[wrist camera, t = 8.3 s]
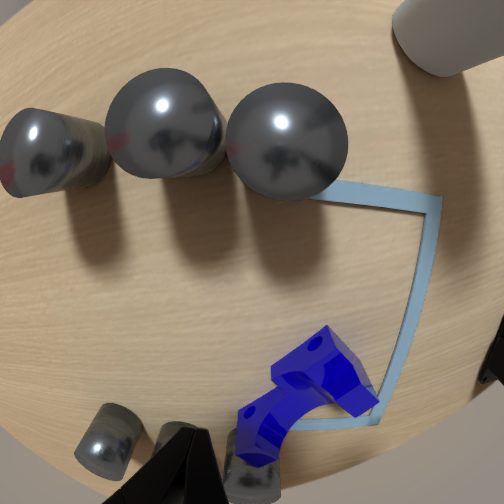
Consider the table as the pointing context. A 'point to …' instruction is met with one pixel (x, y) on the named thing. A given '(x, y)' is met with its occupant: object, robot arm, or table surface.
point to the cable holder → (302, 394)
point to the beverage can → (450, 33)
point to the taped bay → (432, 210)
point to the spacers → (179, 165)
